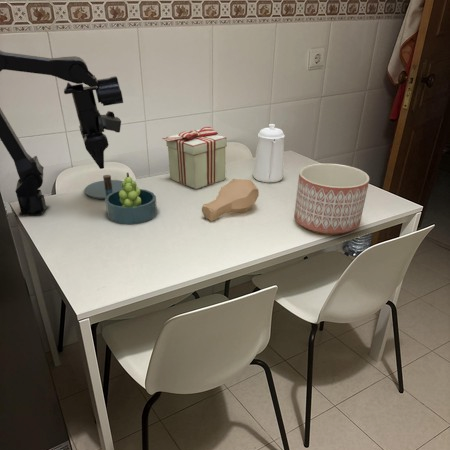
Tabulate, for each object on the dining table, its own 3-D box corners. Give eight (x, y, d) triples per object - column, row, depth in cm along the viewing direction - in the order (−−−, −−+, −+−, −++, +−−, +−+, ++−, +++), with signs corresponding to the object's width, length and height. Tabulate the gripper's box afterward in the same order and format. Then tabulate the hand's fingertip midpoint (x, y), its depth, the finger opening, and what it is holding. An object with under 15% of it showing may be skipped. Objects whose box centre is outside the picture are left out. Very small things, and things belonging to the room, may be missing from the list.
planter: (281, 215, 137) (286, 167, 128) (333, 206, 144) (341, 160, 135) (317, 243, 123) (325, 191, 114) (372, 231, 129) (384, 181, 121)
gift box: (192, 167, 171) (190, 120, 161) (228, 179, 161) (229, 129, 151) (158, 178, 160) (155, 128, 150) (195, 192, 151) (194, 140, 141)
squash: (264, 207, 142) (267, 183, 135) (218, 234, 132) (219, 209, 125) (240, 192, 147) (242, 168, 140) (194, 216, 137) (194, 191, 130)
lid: (80, 200, 143) (77, 184, 140) (90, 182, 156) (87, 167, 153) (129, 200, 144) (127, 184, 141) (135, 183, 156) (133, 168, 153)
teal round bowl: (103, 224, 130) (101, 207, 127) (112, 203, 142) (110, 188, 139) (154, 224, 130) (153, 207, 127) (158, 203, 142) (157, 188, 139)
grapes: (126, 218, 132) (121, 178, 125) (117, 210, 136) (112, 171, 129) (146, 213, 135) (143, 173, 128) (136, 205, 140) (133, 167, 132)
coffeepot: (254, 191, 153) (257, 134, 142) (251, 166, 173) (254, 115, 162) (286, 192, 153) (292, 135, 142) (279, 167, 173) (284, 116, 162)
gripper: (120, 111, 119) (132, 168, 128) (111, 97, 133) (122, 149, 142) (77, 118, 116) (93, 176, 126) (72, 103, 131) (87, 156, 140)
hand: (100, 163), depth 133 cm, fingers open, 9 cm apart
